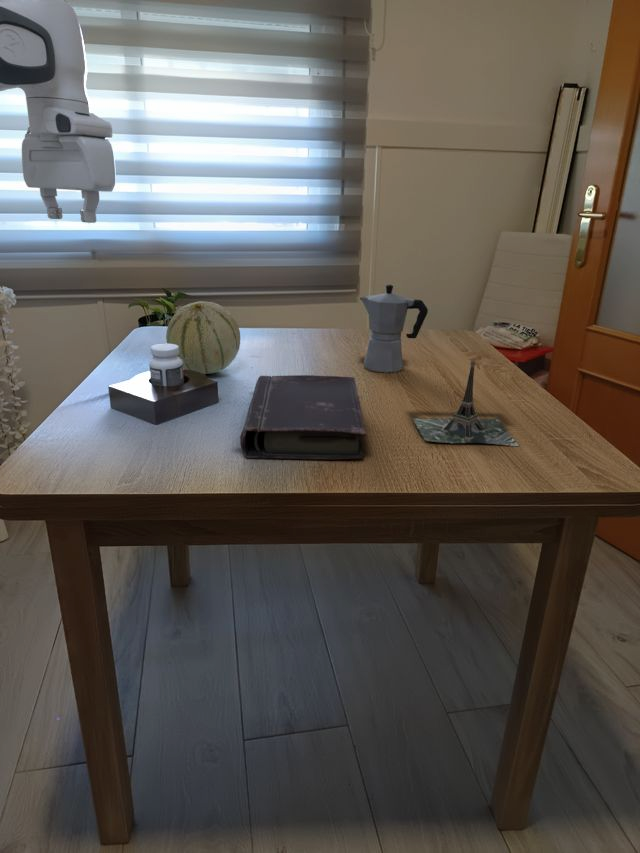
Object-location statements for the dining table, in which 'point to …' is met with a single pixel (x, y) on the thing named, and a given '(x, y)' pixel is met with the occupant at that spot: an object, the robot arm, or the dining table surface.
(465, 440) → the eiffel tower figurine
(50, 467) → the dining table surface
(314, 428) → the diary
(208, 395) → the dark holder block
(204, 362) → the cantaloupe
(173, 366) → the pill bottle
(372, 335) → the coffeepot
